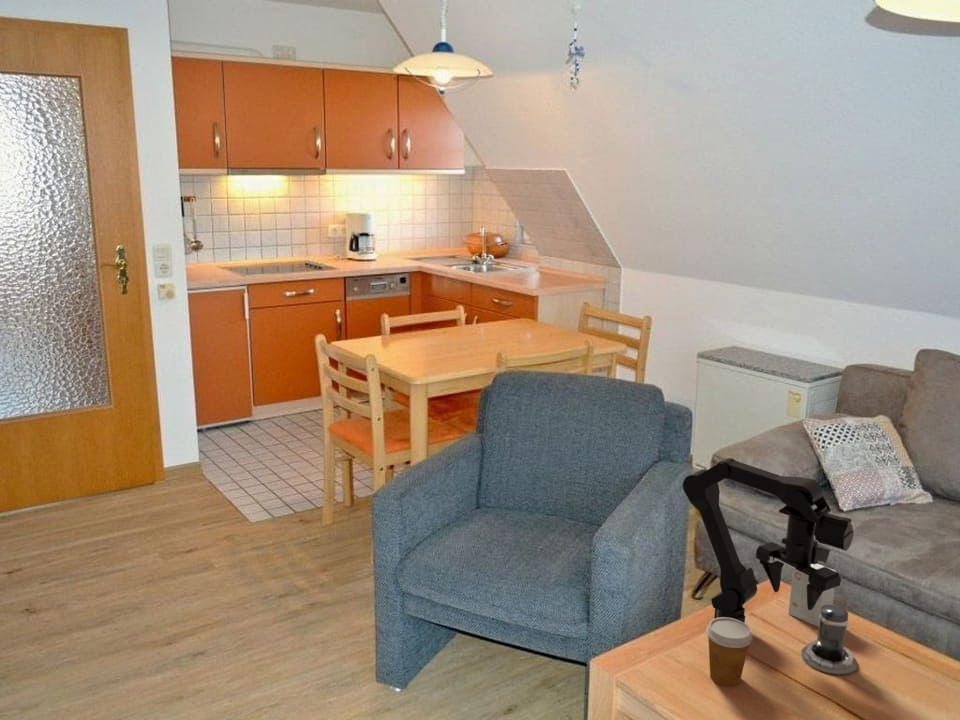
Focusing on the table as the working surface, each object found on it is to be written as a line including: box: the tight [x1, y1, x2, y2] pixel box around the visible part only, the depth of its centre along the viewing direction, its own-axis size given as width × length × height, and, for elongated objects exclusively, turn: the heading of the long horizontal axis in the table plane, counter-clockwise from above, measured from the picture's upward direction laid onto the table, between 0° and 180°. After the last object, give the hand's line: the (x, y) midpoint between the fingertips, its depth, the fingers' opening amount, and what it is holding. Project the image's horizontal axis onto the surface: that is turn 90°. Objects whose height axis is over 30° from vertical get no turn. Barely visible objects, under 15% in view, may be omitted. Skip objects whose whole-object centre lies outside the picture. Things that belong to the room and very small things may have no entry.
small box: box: [788, 563, 837, 628], centre depth 206 cm, size 8×6×13 cm
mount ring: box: [800, 639, 858, 676], centre depth 189 cm, size 12×12×2 cm
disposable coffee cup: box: [705, 617, 754, 687], centre depth 180 cm, size 10×10×12 cm
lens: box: [815, 604, 849, 662], centre depth 188 cm, size 6×6×12 cm
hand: (793, 600), depth 189 cm, fingers open, 9 cm apart
